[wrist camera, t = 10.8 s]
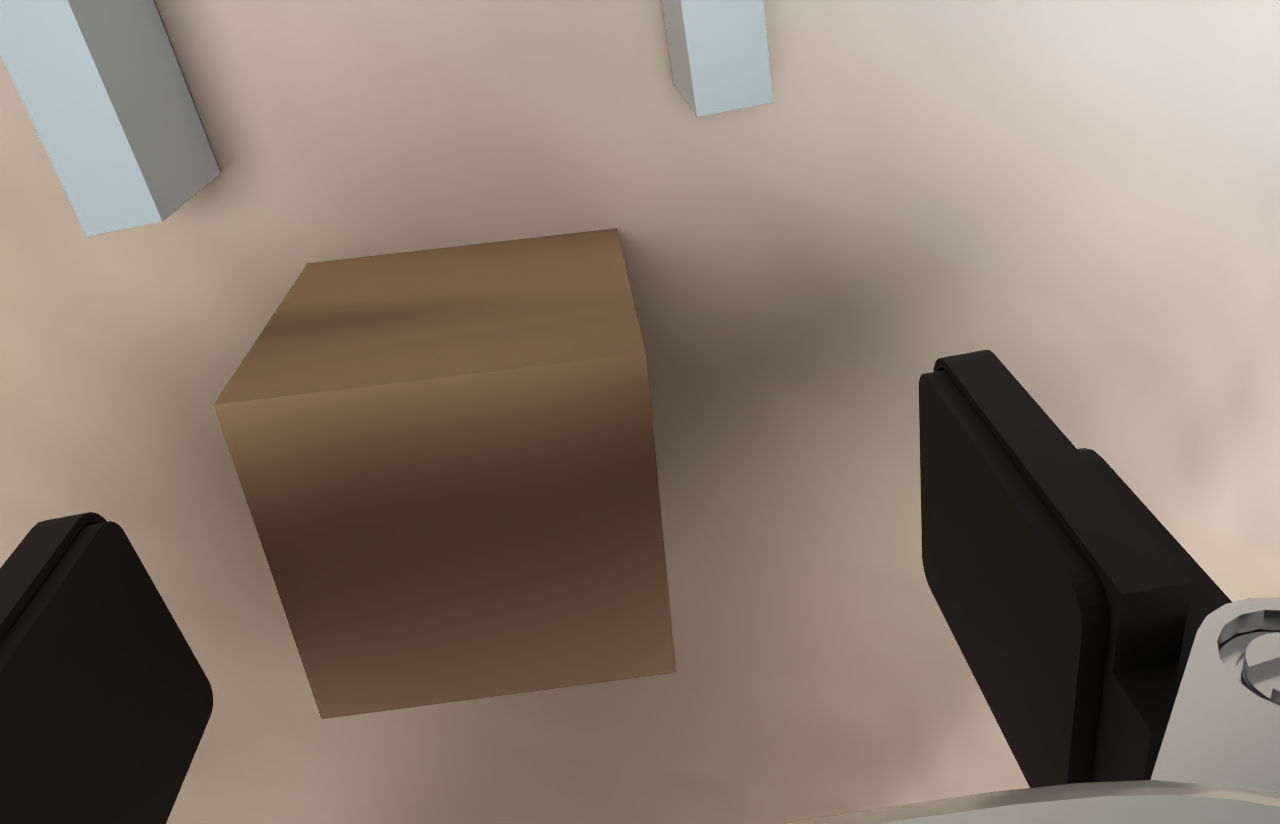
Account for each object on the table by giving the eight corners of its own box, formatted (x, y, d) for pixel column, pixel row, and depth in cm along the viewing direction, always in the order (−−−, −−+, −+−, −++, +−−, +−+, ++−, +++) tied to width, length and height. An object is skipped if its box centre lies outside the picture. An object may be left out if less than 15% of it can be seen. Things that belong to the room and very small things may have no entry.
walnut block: (642, 483, 18) (675, 672, 13) (376, 516, 18) (321, 718, 13) (616, 227, 15) (645, 353, 11) (308, 261, 15) (214, 405, 11)
